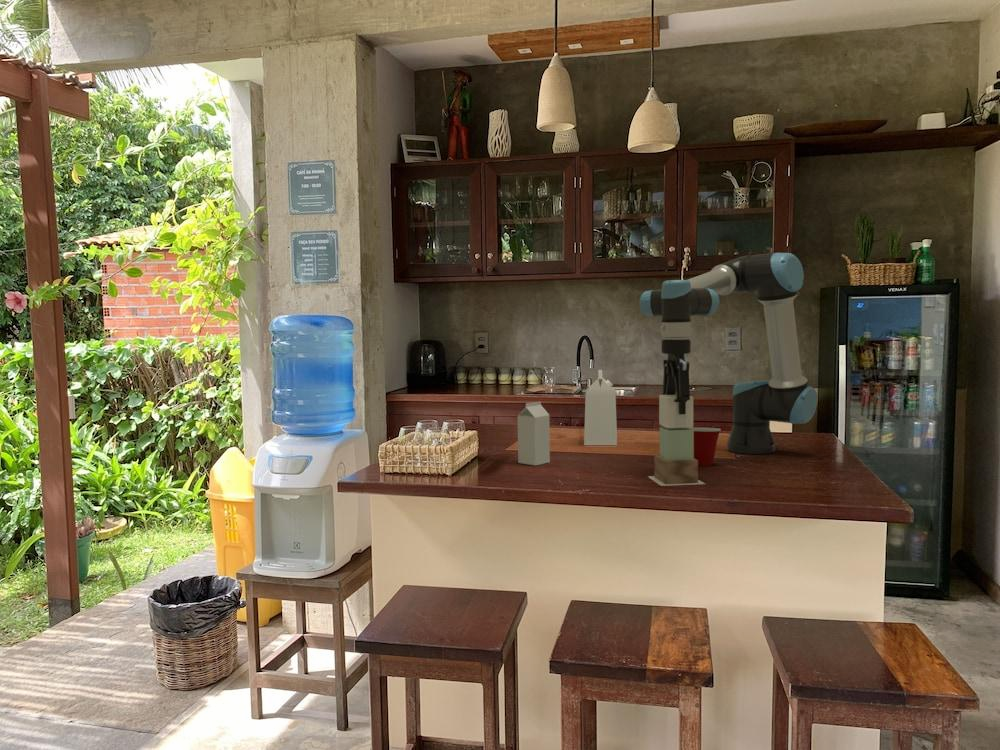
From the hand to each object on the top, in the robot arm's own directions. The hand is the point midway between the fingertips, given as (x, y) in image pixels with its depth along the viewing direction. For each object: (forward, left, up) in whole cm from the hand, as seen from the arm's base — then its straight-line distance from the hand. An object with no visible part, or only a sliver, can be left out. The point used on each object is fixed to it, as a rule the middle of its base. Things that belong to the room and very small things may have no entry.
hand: (675, 424), depth 205 cm
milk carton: (+33, -36, -16) cm, 52 cm away
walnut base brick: (0, 0, -15) cm, 15 cm away
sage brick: (0, 0, -9) cm, 9 cm away
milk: (+4, -68, -16) cm, 70 cm away
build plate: (0, 0, -16) cm, 16 cm away
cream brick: (0, 0, 0) cm, 0 cm away
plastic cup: (-15, -20, -16) cm, 30 cm away
